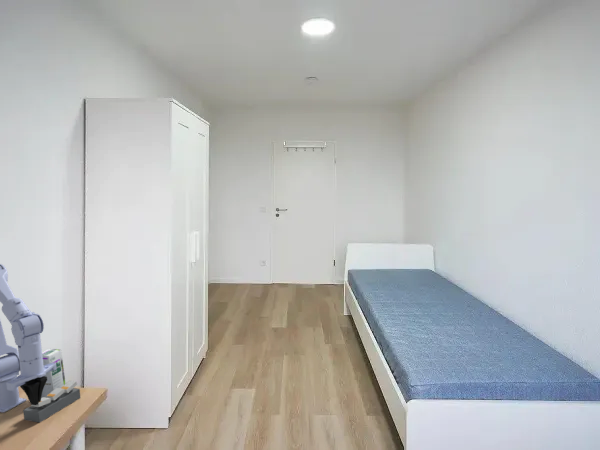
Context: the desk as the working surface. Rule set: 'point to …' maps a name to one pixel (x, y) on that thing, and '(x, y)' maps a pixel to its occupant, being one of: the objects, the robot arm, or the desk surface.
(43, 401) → the rocker
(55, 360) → the syrup box
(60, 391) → the block
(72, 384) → the rocker
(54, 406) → the rocker switch panel
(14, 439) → the desk surface
